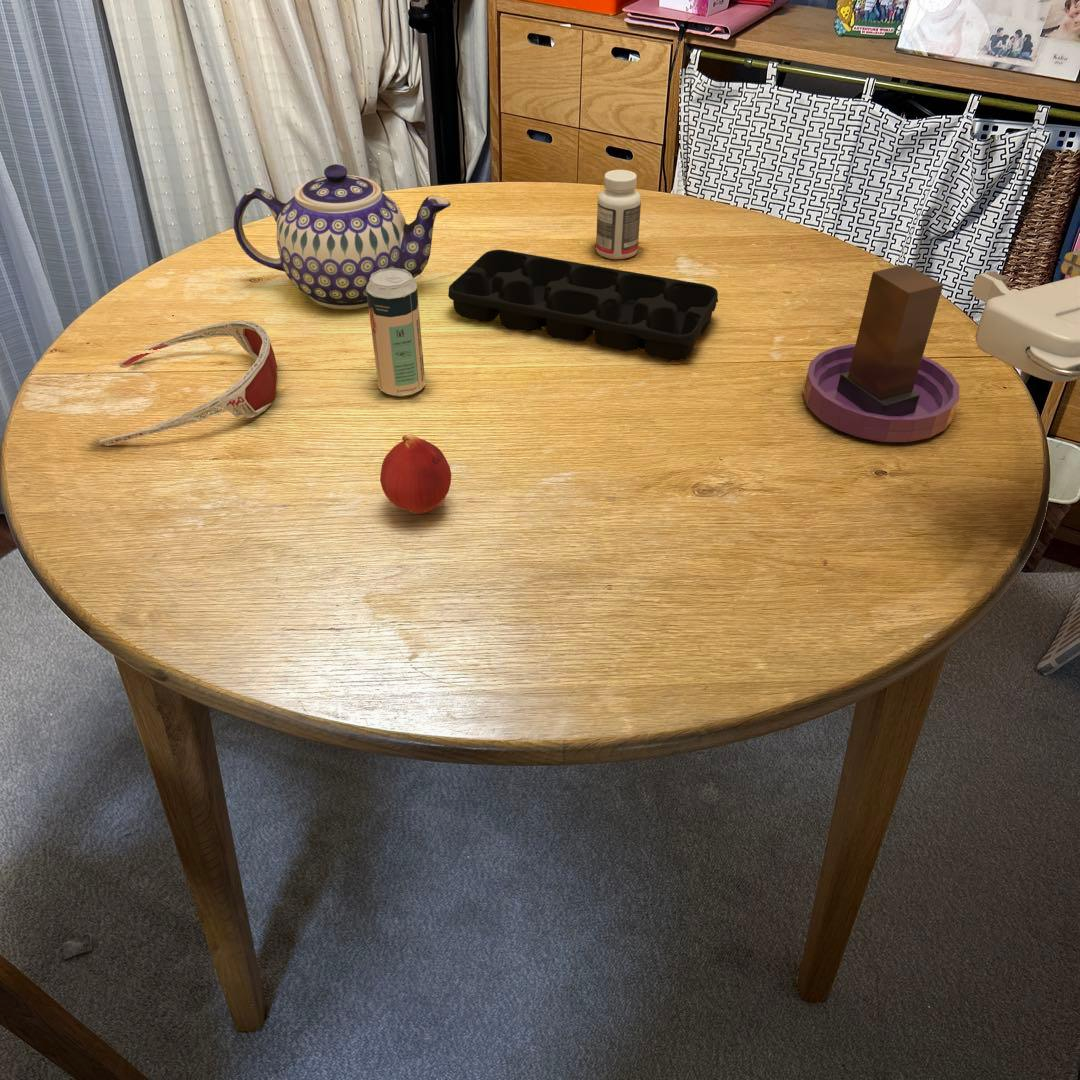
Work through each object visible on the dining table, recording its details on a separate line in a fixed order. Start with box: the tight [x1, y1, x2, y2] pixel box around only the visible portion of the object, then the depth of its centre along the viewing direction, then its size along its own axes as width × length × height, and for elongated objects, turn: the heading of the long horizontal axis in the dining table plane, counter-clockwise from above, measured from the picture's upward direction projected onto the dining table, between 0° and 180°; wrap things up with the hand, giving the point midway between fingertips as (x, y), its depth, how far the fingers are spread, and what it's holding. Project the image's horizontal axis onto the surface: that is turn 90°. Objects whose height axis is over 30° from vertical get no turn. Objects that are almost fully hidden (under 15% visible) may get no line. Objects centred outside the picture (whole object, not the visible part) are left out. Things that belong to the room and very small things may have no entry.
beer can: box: [366, 268, 426, 398], centre depth 94 cm, size 5×5×12 cm
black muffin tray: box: [447, 249, 719, 362], centre depth 108 cm, size 18×30×4 cm, turn 79°
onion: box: [379, 433, 452, 515], centre depth 80 cm, size 6×6×8 cm
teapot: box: [233, 163, 452, 311], centre depth 110 cm, size 25×15×15 cm, turn 85°
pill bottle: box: [595, 169, 642, 260], centre depth 120 cm, size 5×5×10 cm
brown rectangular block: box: [837, 263, 944, 416], centre depth 91 cm, size 6×4×13 cm
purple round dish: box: [802, 343, 960, 443], centre depth 94 cm, size 14×14×3 cm
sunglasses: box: [98, 320, 278, 447], centre depth 96 cm, size 17×17×5 cm
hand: (1025, 270), depth 76 cm, fingers open, 8 cm apart
